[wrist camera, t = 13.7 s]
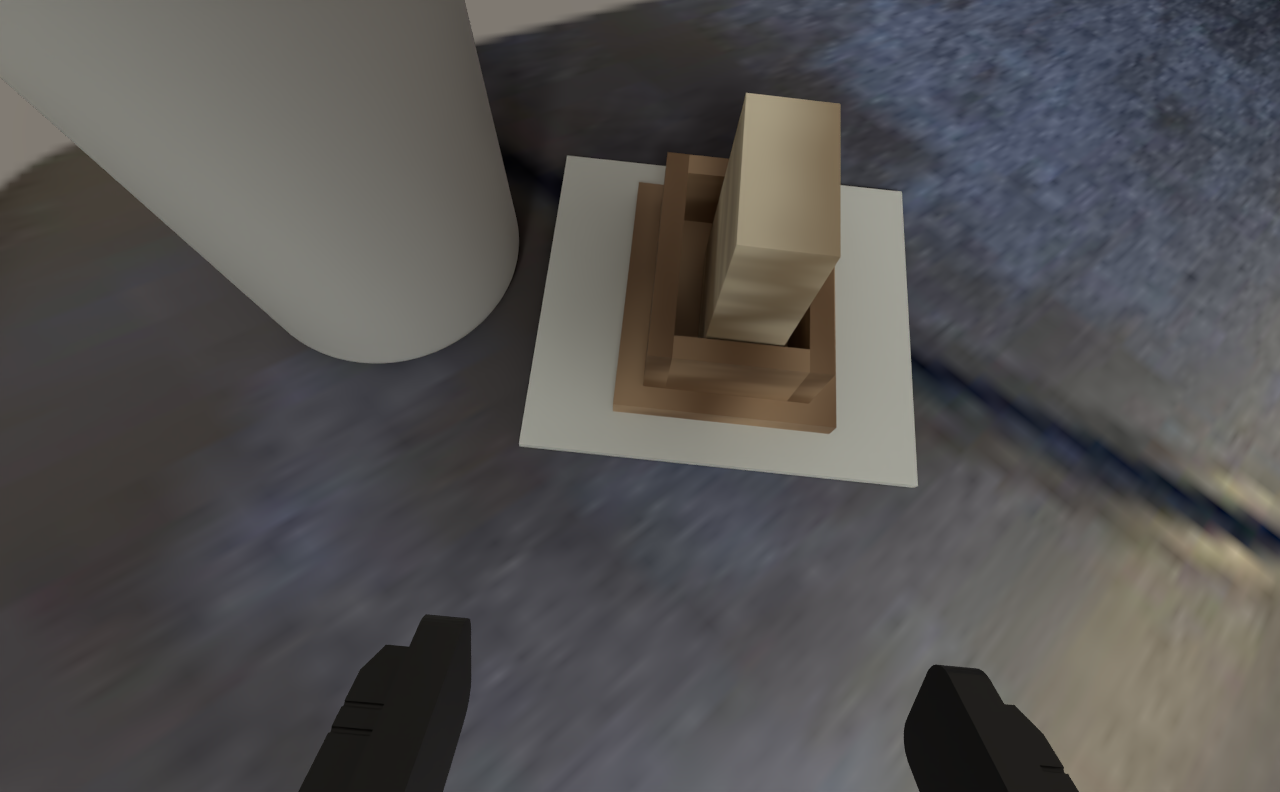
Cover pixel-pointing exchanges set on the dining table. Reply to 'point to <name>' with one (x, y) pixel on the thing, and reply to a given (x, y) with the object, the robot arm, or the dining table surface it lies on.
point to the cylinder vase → (294, 151)
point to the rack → (669, 321)
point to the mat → (585, 421)
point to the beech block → (773, 221)
